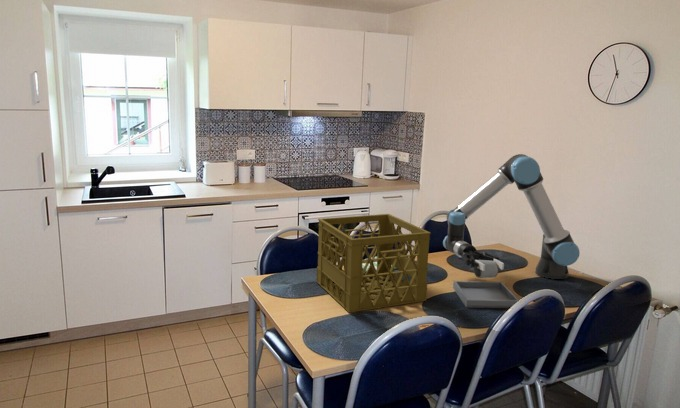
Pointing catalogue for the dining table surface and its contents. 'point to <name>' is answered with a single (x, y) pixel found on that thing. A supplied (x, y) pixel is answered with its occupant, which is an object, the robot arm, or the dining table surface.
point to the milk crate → (386, 257)
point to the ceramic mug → (487, 269)
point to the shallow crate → (484, 294)
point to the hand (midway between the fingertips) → (493, 267)
